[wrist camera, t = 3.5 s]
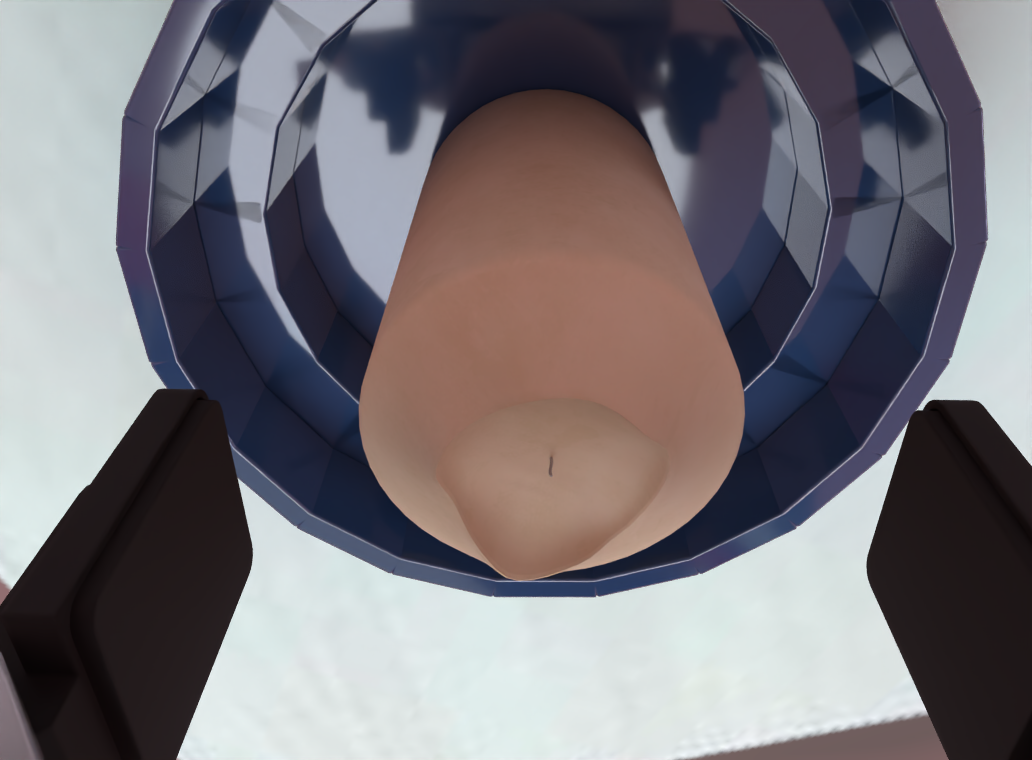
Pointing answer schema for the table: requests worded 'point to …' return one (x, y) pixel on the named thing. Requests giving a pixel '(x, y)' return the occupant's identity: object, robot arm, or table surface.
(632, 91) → the basin
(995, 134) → the table surface
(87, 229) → the table surface
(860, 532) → the table surface
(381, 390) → the candle
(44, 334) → the table surface
